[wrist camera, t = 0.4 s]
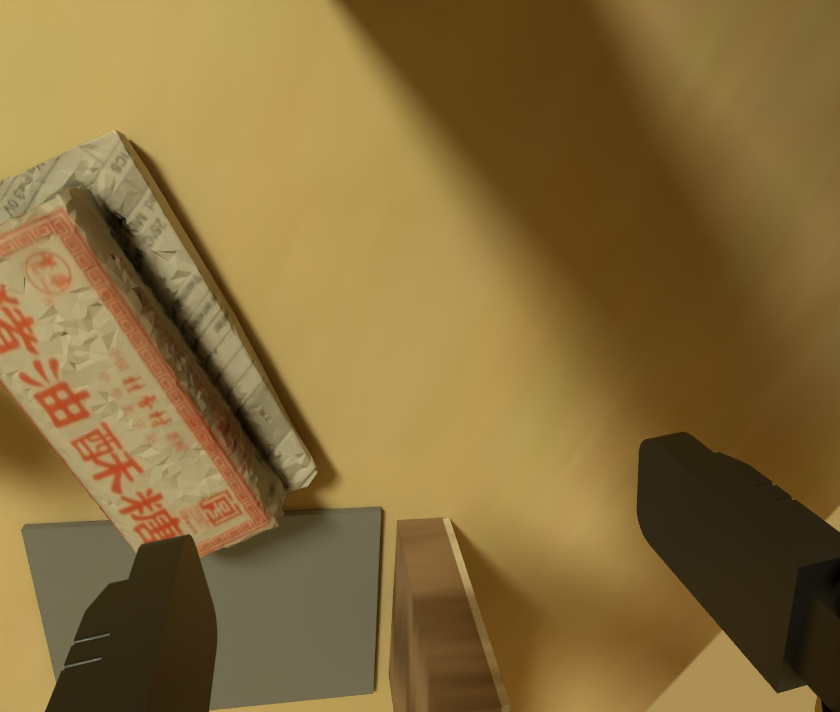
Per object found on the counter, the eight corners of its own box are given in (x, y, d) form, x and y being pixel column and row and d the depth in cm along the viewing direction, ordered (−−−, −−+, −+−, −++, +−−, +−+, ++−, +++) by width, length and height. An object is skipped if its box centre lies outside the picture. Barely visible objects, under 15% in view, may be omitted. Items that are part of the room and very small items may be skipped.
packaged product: (326, 521, 28) (125, 612, 28) (324, 464, 32) (151, 543, 32) (87, 127, 20) (-185, 251, 20) (127, 124, 25) (-97, 226, 25)
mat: (24, 524, 31) (21, 529, 31) (380, 506, 34) (381, 511, 34) (68, 718, 36) (66, 725, 36) (372, 687, 39) (373, 693, 39)
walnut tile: (397, 519, 35) (437, 714, 24) (449, 517, 35) (511, 706, 24) (388, 674, 39) (418, 897, 28) (434, 669, 40) (481, 886, 29)
